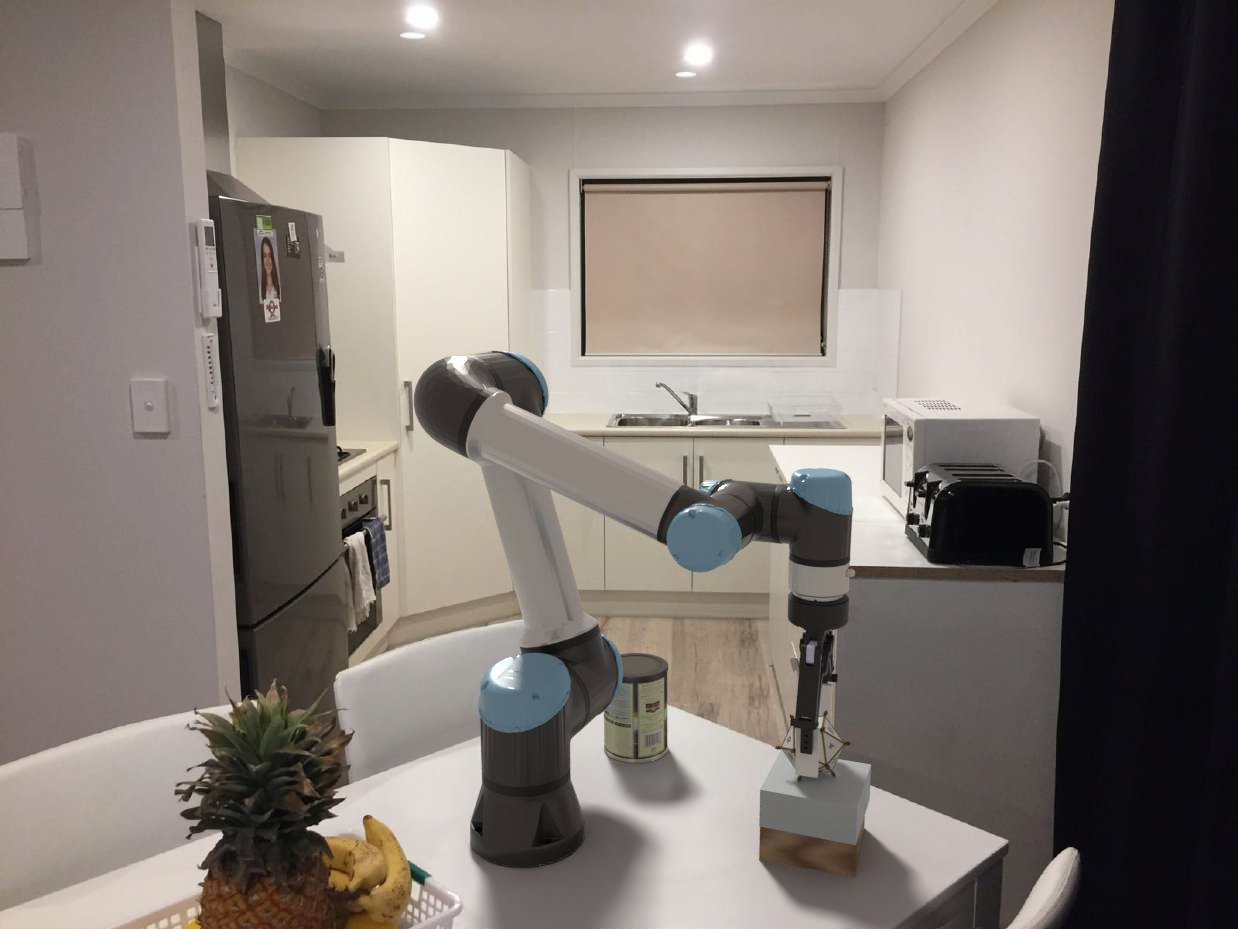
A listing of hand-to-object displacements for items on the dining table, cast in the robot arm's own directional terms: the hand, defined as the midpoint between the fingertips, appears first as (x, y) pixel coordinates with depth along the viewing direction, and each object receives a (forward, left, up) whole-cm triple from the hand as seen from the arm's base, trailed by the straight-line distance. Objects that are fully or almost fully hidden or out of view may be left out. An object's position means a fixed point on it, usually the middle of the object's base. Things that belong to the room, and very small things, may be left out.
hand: (813, 751), depth 129 cm
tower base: (0, 0, -13) cm, 13 cm away
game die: (0, 0, -3) cm, 3 cm away
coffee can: (-30, +19, -13) cm, 38 cm away
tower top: (+1, -1, -8) cm, 8 cm away
